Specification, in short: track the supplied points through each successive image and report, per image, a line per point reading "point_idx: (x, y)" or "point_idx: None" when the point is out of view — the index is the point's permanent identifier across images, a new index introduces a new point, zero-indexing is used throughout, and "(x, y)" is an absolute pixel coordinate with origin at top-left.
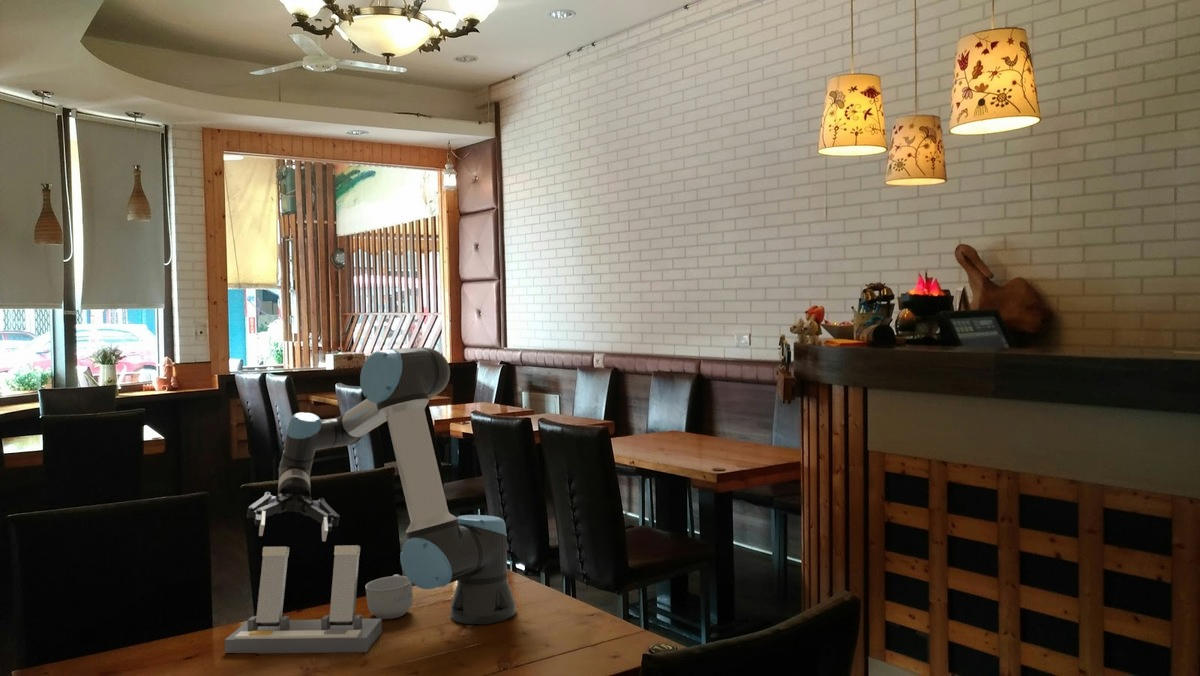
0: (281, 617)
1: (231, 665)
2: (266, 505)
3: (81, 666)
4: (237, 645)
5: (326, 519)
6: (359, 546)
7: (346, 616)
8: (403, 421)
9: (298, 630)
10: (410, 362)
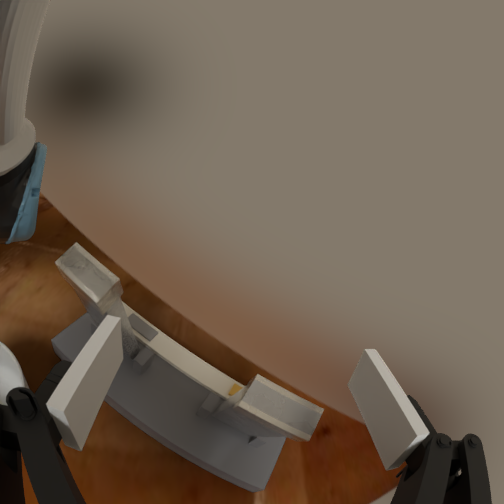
0: (214, 413)
1: (273, 378)
2: (442, 493)
3: None
4: None
5: (63, 383)
6: (60, 257)
7: None
8: None
9: (184, 388)
10: None
